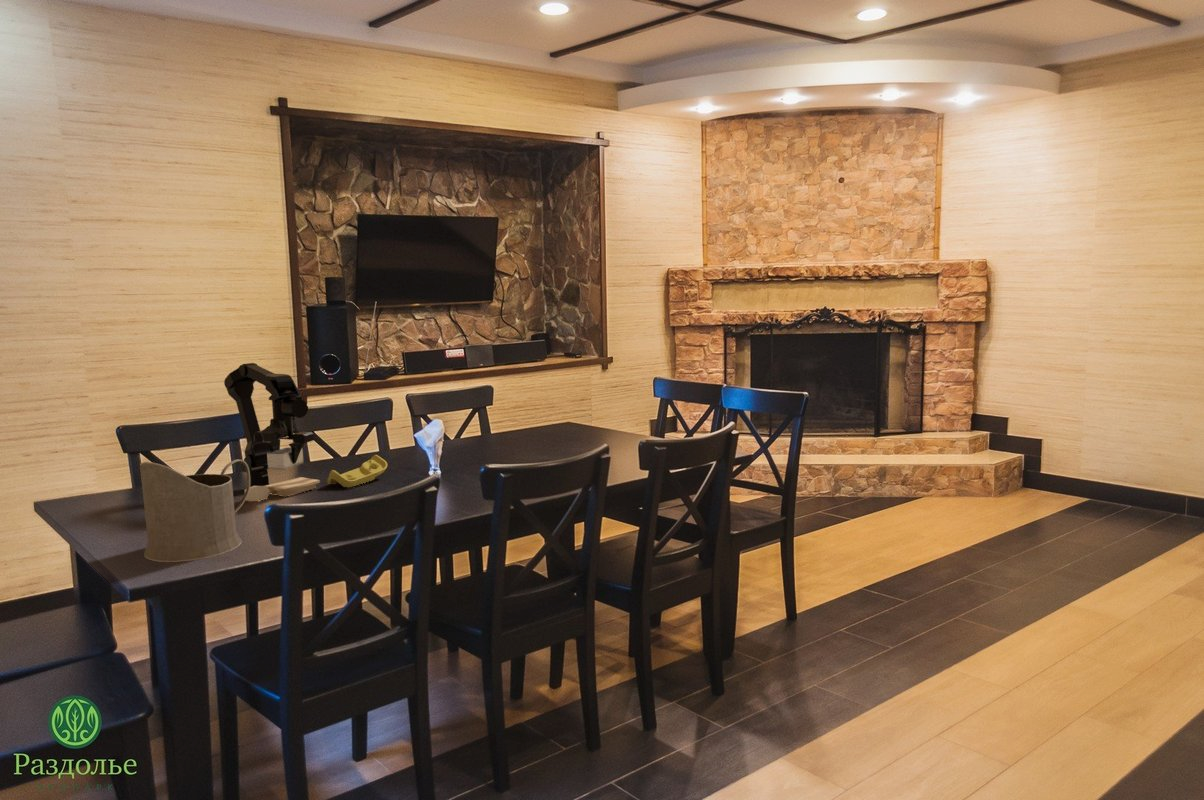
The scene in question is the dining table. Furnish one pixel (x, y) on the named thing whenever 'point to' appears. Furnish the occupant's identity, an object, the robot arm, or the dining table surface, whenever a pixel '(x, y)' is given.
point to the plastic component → (359, 473)
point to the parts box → (257, 493)
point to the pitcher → (188, 513)
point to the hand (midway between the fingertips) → (285, 462)
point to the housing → (283, 459)
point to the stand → (292, 486)
